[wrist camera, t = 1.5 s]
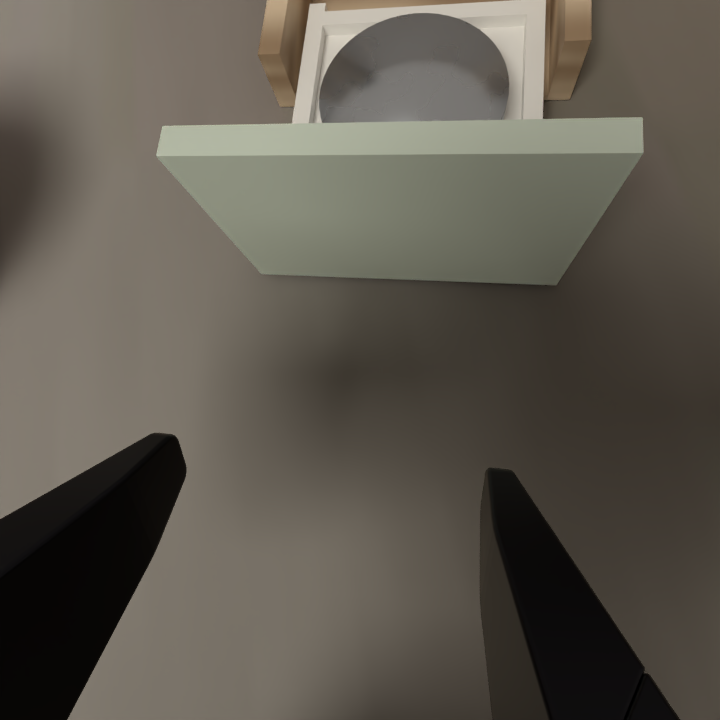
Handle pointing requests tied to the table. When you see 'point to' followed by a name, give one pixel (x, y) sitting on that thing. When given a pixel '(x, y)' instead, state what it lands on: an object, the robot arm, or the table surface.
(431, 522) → the table surface
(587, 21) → the housing
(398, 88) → the disc
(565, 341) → the table surface
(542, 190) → the drawer
